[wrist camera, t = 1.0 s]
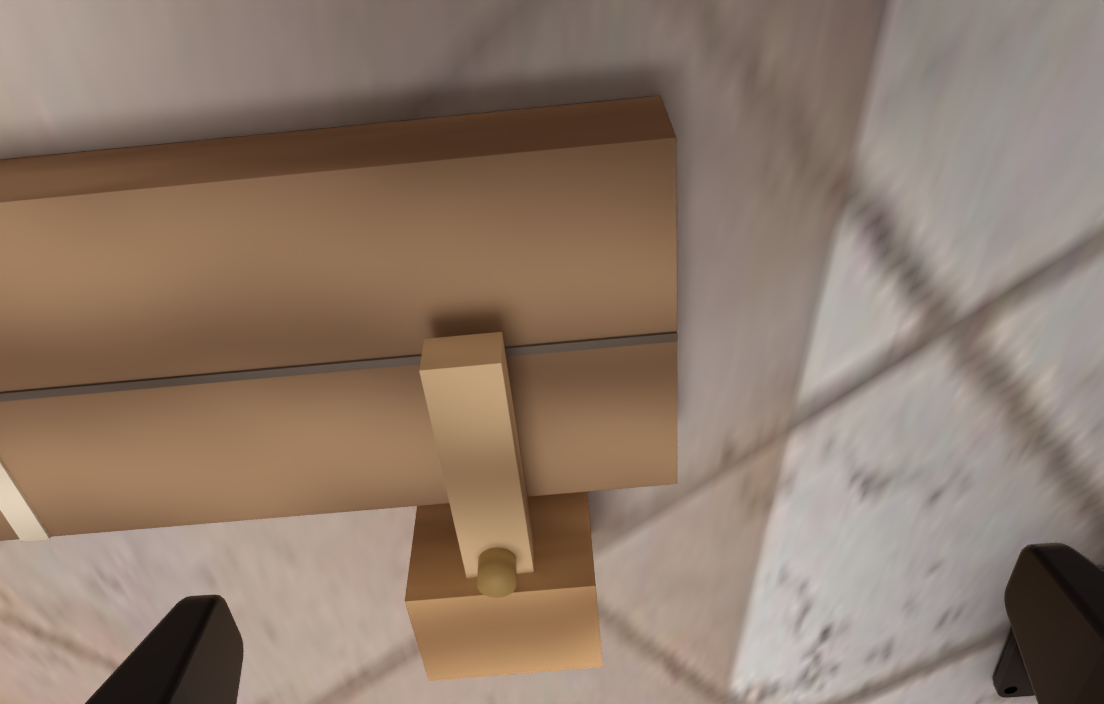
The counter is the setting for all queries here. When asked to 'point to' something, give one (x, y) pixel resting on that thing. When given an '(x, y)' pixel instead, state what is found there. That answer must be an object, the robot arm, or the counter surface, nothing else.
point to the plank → (331, 314)
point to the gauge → (494, 535)
